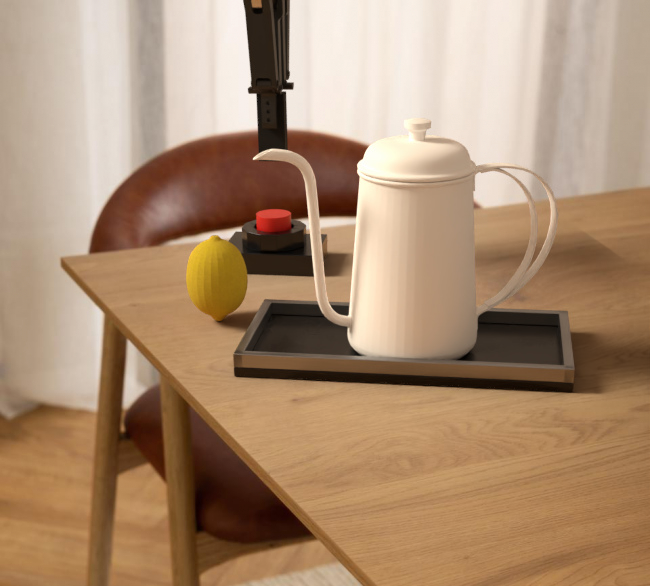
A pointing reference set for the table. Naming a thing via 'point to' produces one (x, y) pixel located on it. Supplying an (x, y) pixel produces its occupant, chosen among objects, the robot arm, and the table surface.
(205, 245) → the lemon
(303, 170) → the coffeepot
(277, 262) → the button box
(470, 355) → the drip pan
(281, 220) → the button
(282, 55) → the robot arm
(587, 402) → the table surface
